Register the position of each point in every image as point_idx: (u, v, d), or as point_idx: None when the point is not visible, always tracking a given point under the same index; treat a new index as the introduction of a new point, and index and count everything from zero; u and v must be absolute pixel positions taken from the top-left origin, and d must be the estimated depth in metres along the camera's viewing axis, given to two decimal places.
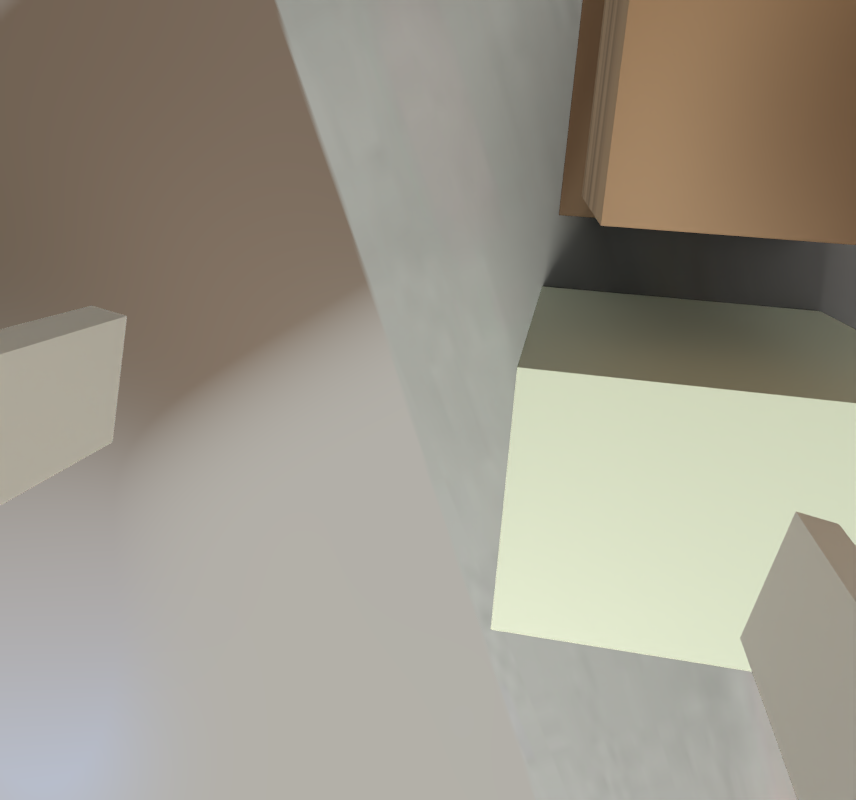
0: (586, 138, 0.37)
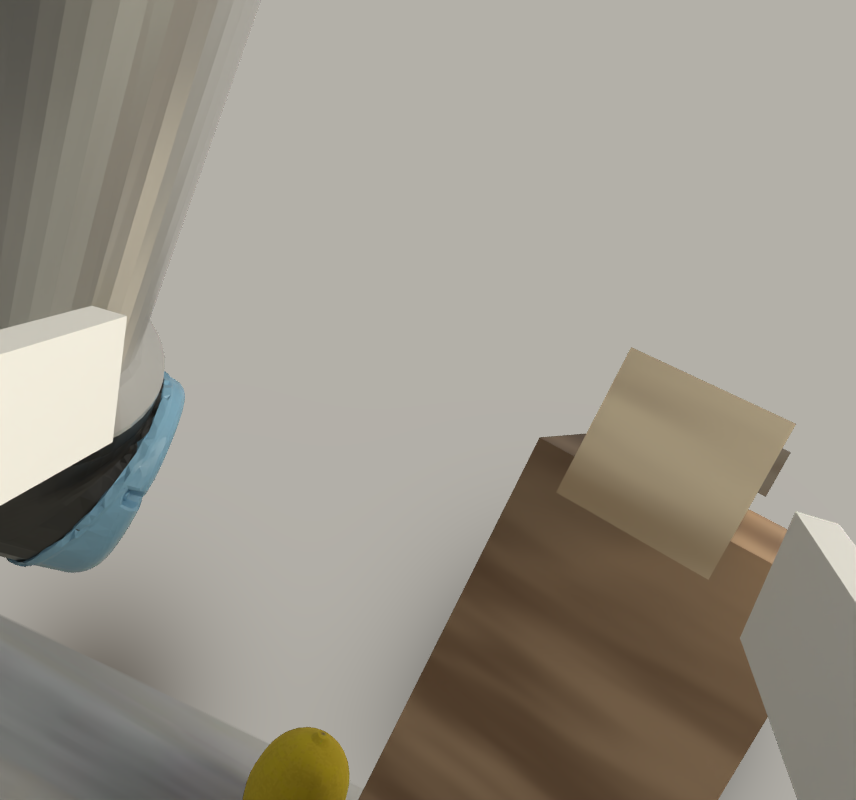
0: None
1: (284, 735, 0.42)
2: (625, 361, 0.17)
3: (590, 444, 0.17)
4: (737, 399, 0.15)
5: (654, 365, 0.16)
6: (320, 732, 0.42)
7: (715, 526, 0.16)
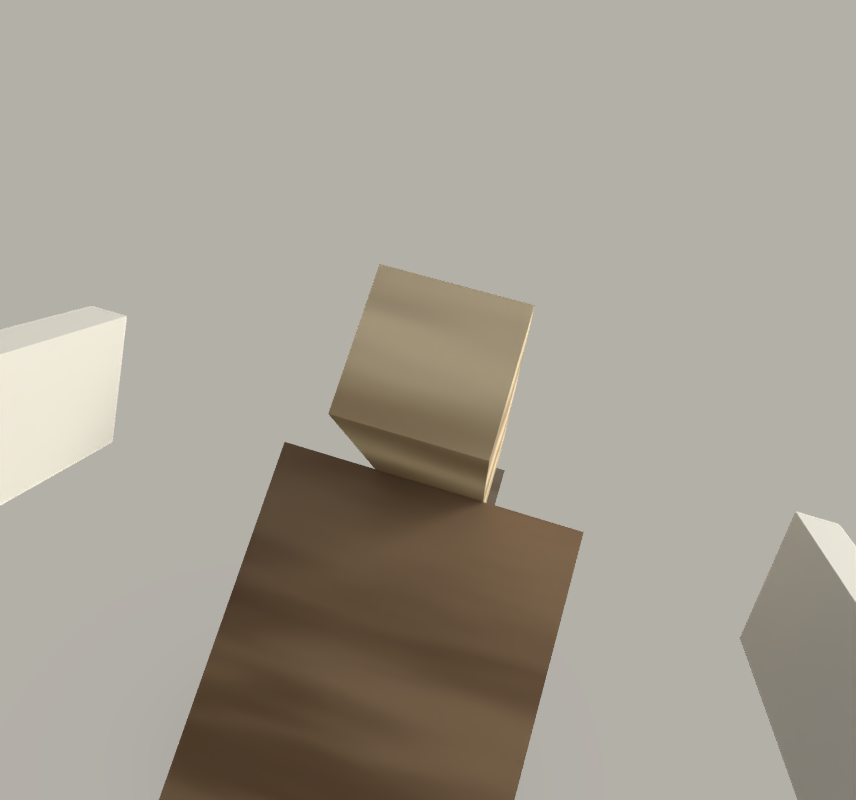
0: None
1: None
2: (376, 277, 0.17)
3: (354, 359, 0.17)
4: (482, 293, 0.17)
5: (404, 276, 0.17)
6: None
7: (485, 410, 0.16)
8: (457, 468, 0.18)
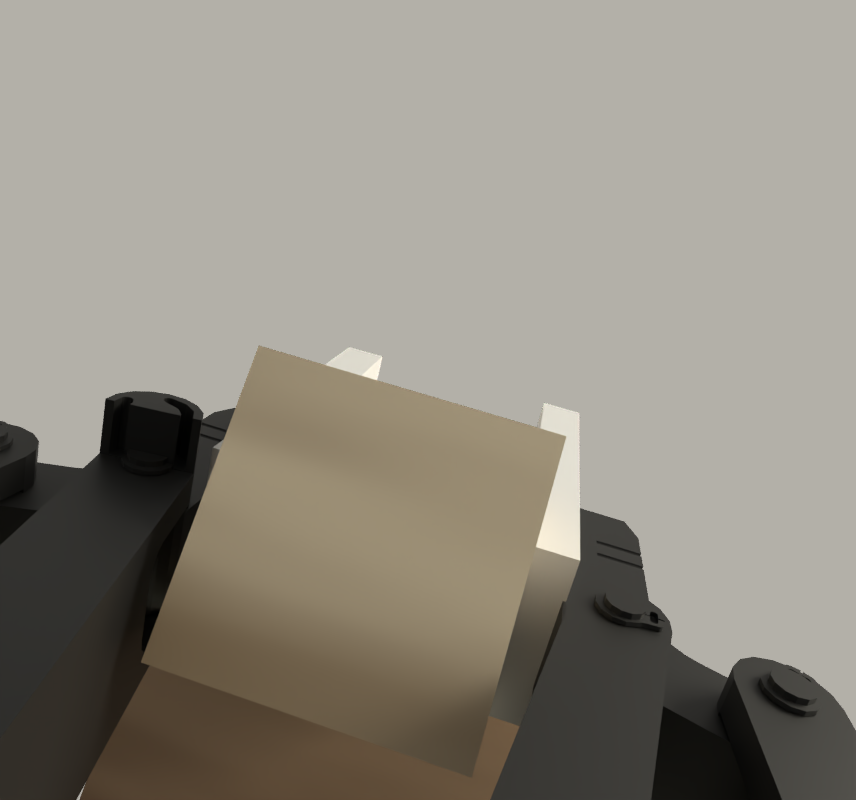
0: None
1: None
2: (251, 373, 0.09)
3: (201, 545, 0.08)
4: (461, 410, 0.08)
5: (306, 372, 0.09)
6: None
7: (464, 661, 0.08)
8: None
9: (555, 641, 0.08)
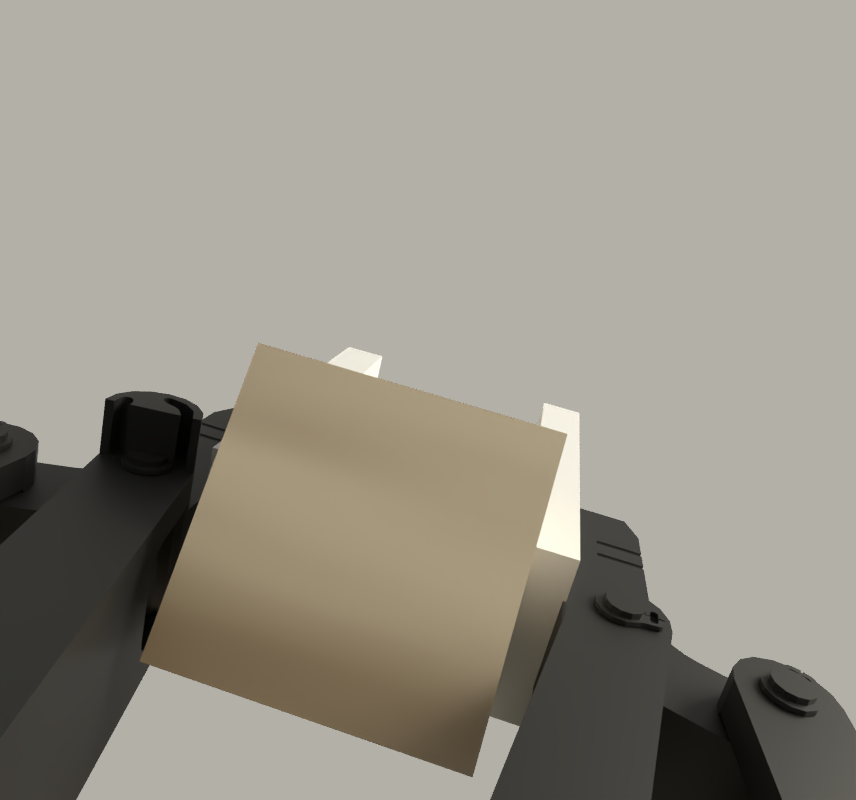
0: None
1: None
2: (251, 370, 0.09)
3: (200, 543, 0.08)
4: (461, 407, 0.08)
5: (305, 369, 0.09)
6: None
7: (465, 660, 0.08)
8: None
9: (555, 641, 0.08)
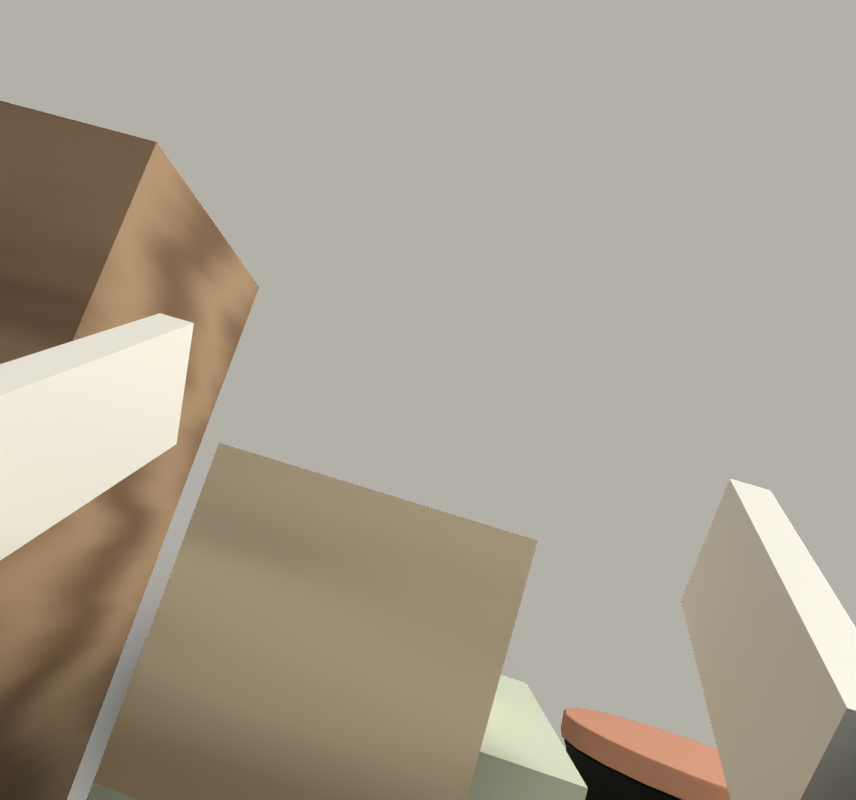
0: None
1: None
2: (211, 472, 0.08)
3: (157, 657, 0.08)
4: (428, 512, 0.08)
5: (268, 471, 0.08)
6: None
7: (431, 782, 0.07)
8: None
9: None
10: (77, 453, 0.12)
